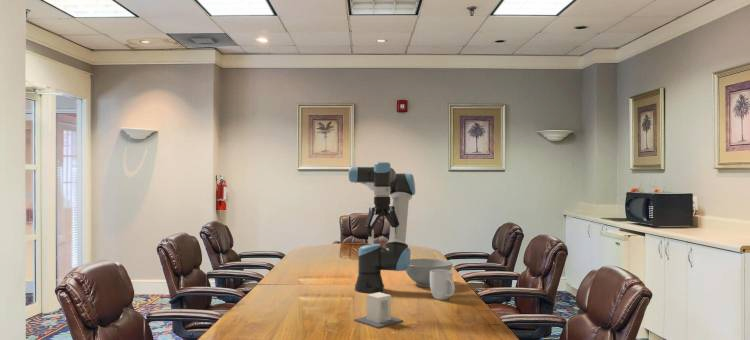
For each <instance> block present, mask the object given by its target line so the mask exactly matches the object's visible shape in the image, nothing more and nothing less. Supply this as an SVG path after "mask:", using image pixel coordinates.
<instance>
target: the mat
mask: <svg viewBox="0 0 750 340" xmlns="http://www.w3.org/2000/svg"><path fill="white" fill-rule="evenodd" d="M353 321H355V322H357V323H360V324H363V325H367V326H369V327H372V328H375V329H380V328H381V329H382V328H385V327H388V326H392V325H396V324H398V323H402V322H404V320H403V319H401V318H398V317H393V316H391V320H385V319H382V318H381V322H380V323H376V322H373V321H370V320H367V315H366V316H363V317H362V316H361V317H359V318H355V319H354V320H353Z"/></svg>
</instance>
